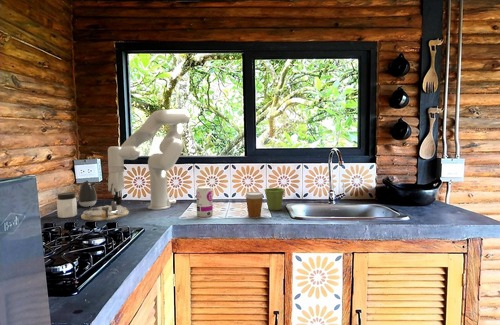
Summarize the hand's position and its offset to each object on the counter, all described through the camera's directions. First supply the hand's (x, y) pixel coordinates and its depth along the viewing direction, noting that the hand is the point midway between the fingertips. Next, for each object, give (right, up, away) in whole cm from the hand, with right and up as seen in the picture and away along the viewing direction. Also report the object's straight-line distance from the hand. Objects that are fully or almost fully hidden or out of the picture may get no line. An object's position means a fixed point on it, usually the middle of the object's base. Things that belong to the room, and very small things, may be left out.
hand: (117, 204), depth 171 cm
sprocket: (-6, -4, 0) cm, 8 cm away
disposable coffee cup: (+73, -6, -5) cm, 73 cm away
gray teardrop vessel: (-27, -4, +23) cm, 36 cm away
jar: (-26, -6, -1) cm, 27 cm away
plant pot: (+84, -4, +10) cm, 85 cm away
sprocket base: (-6, -6, 0) cm, 9 cm away
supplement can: (+47, -6, -3) cm, 47 cm away
